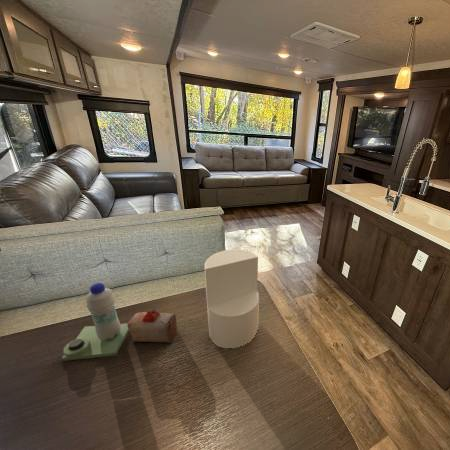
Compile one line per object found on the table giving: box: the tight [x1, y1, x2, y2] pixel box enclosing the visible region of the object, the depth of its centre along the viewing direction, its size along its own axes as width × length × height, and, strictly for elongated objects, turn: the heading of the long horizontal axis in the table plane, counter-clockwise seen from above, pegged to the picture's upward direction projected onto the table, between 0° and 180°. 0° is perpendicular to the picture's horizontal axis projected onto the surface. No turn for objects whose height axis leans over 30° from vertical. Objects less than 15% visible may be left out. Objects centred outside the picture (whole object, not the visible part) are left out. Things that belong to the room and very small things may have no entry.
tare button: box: [69, 338, 83, 351], centre depth 74 cm, size 3×3×2 cm
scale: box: [61, 322, 130, 362], centre depth 79 cm, size 14×12×3 cm
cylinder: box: [203, 249, 260, 349], centre depth 84 cm, size 17×17×28 cm
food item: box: [126, 307, 178, 344], centre depth 82 cm, size 14×8×10 cm, turn 92°
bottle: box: [85, 282, 121, 341], centre depth 77 cm, size 7×7×20 cm
